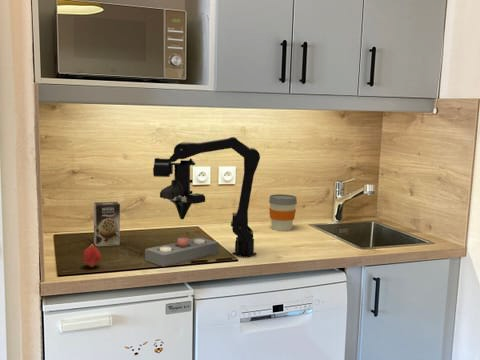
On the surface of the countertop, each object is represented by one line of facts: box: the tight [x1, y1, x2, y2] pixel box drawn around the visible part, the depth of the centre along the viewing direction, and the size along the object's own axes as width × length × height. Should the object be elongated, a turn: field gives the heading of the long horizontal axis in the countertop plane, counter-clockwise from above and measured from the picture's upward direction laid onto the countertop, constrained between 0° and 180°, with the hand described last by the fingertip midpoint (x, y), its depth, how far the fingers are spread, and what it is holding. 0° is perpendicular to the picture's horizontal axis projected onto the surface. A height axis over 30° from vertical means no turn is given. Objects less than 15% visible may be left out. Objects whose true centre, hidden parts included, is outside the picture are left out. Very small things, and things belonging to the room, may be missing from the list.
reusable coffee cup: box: [268, 193, 298, 232], centre depth 235 cm, size 13×13×15 cm
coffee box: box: [93, 201, 121, 247], centre depth 199 cm, size 9×6×16 cm
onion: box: [82, 243, 102, 268], centre depth 171 cm, size 6×6×8 cm
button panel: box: [144, 237, 219, 268], centre depth 187 cm, size 10×26×4 cm, turn 137°
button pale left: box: [160, 247, 171, 252], centre depth 181 cm, size 4×4×3 cm
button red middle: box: [176, 237, 190, 248], centre depth 187 cm, size 4×4×3 cm
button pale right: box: [194, 239, 205, 244], centre depth 193 cm, size 4×4×3 cm
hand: (182, 219), depth 190 cm, fingers closed
